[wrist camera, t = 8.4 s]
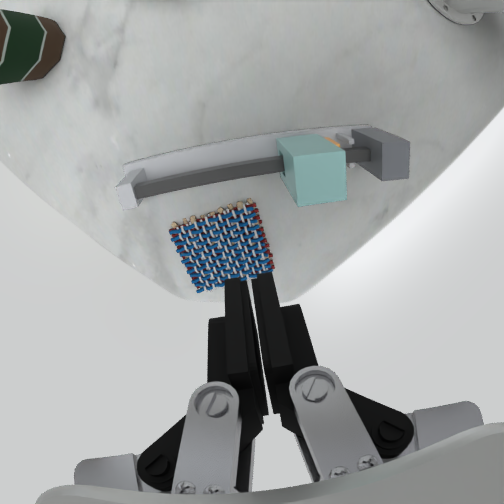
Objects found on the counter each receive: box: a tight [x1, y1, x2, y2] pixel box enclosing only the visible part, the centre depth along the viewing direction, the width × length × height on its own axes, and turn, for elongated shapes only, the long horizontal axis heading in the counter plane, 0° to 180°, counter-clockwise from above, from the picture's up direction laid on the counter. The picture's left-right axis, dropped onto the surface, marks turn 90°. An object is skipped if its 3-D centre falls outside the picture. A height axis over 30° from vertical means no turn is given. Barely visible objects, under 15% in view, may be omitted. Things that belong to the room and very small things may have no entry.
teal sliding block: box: [276, 134, 347, 207], centre depth 25 cm, size 4×4×7 cm
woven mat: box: [169, 198, 275, 293], centre depth 36 cm, size 10×11×2 cm
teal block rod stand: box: [115, 125, 410, 210], centre depth 27 cm, size 28×4×8 cm, turn 98°
